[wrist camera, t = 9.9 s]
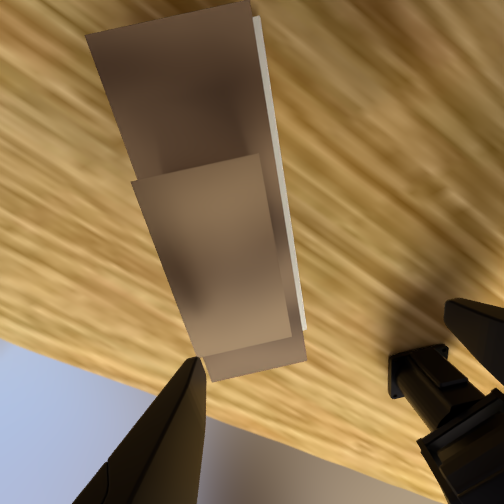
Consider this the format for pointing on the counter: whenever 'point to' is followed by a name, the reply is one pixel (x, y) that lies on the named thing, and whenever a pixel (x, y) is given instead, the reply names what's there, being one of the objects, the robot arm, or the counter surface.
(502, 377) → the robot arm
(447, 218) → the counter surface
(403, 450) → the counter surface
